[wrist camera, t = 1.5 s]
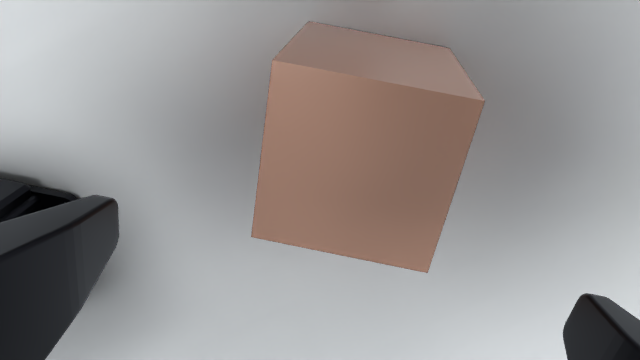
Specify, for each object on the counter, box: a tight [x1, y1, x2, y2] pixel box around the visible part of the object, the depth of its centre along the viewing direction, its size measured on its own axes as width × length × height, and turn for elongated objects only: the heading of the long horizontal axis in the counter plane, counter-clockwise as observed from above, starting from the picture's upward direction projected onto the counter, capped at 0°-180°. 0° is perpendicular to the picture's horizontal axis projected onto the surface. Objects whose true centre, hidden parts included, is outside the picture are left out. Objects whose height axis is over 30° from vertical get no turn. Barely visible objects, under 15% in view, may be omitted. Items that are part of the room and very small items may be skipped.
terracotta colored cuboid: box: [251, 21, 485, 273], centre depth 16 cm, size 5×5×7 cm
